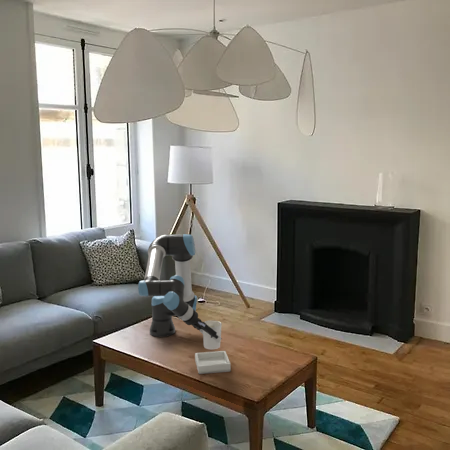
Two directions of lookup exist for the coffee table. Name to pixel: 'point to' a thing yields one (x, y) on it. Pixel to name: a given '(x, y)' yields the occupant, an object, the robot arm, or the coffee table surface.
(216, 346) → the candle holder
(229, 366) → the lipped tray
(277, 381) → the coffee table surface
